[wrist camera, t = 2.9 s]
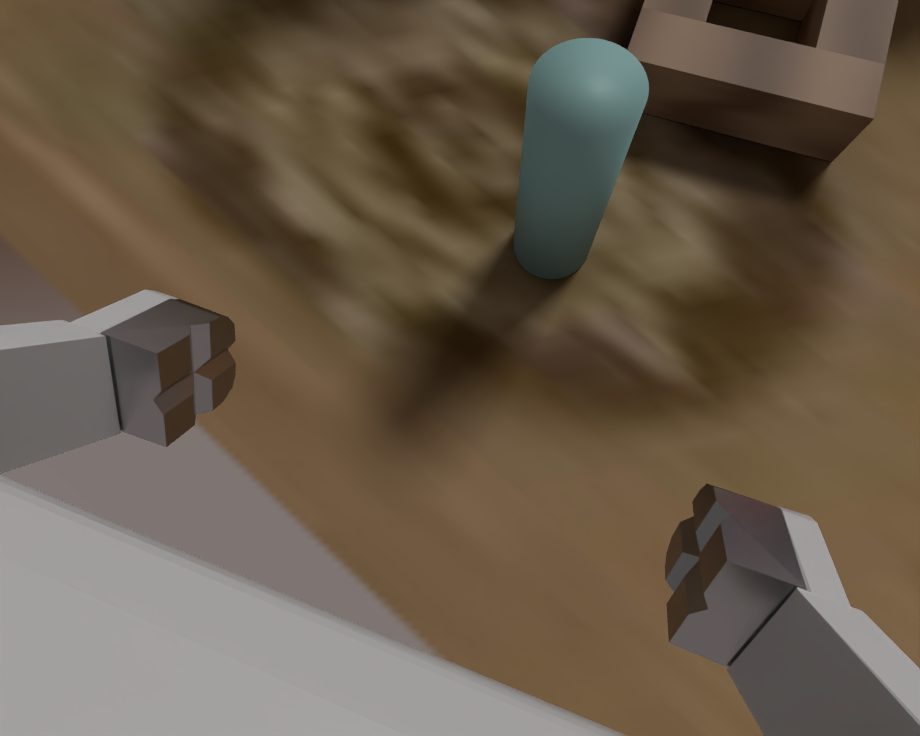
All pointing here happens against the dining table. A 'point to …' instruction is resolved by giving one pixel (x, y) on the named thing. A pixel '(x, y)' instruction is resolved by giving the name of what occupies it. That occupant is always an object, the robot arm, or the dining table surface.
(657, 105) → the socket block
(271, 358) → the dining table surface
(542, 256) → the peg
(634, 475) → the dining table surface
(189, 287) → the dining table surface
